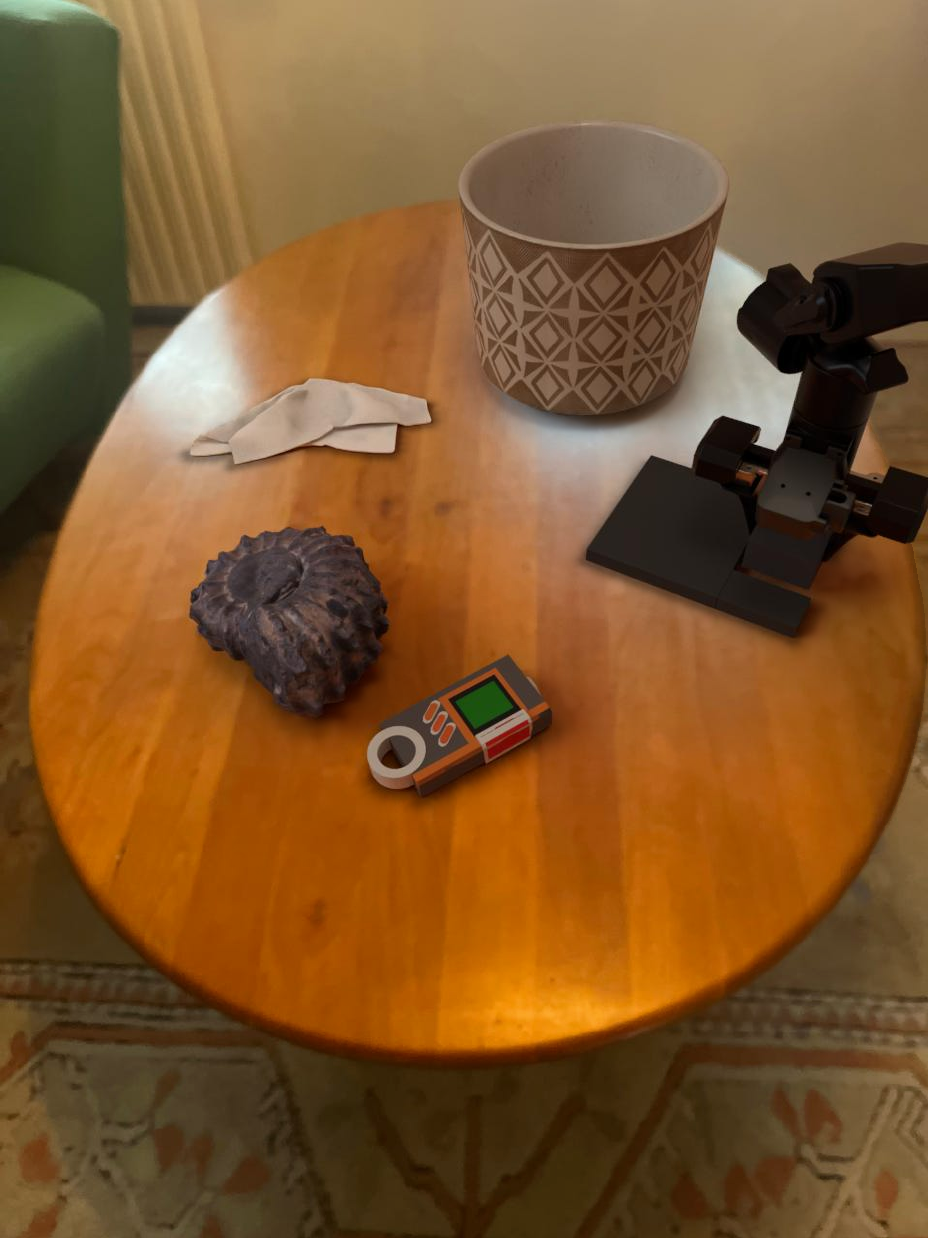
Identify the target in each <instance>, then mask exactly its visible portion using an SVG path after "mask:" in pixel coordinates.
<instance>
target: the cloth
mask: <svg viewBox="0 0 928 1238" xmlns="http://www.w3.org/2000/svg"><path fill="white" fill-rule="evenodd" d="M427 402H428V401H427V399H425V398H421V397H417V396H413V395H410V394H406V393H400V392H394V391H391V390H388V389H384V388H382V387H374V386H373V387H372V386H367V385H363V384H360V383H356V382H342V381H338V380H333V379H326V378H311V377H310V378H308V380H306V381H305V382H304V383H303V384H296V385H291V386H289V387H288V388H286V389H284V390H282V391H281V392H279V393H277V394H276V395H274V396H272V397H271V398H269V399H267V400H265V401H263V402H261V403H259V404H257V405H255V406H253V407H251V408H249V409H247V410H246V411H244V412H242V413H241V414H240V415H238V416H237V417H236V418H234V419H233V420H232V421H230V422H229V423H228V424H227V425H223V426H220V427H216V428H214V429H212V430H210V431H208V432H206V433H204V434H198V436H197V437H195V438H194V439H193V440H192V443H191V448H190V450H189V454H190V456H191V457H207V456H215V455H222V454H232V459H233V463H234V466H237V465H241V464H246V463H249V462H254V461H257V460H262V459H267V458H270V457H274V456H276V455H279V454H282V453H285V452H287V451H290V450H293V449H296V448H299V447H311V446H317V447H323V446H327V447H331V448H334V449H336V450H342V451H348V452H359V453H369V454H393V453H394V452H395V450H396V441H397V432H398V426H399V425H401V426H403V427H411V426H418V425H427V424H431V422H432V418H431V414H430V412H429V410H428V405H427V404H428V403H427Z"/></svg>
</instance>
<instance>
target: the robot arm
mask: <svg viewBox="0 0 928 1238" xmlns="http://www.w3.org/2000/svg"><path fill="white" fill-rule="evenodd" d="M812 275H813V277H812V279H811V282H810V281H809V280H808V279H807V278H805V277H804V275H803V273H801V271H800V270H799V269H798V268H797V267H796V266H795V265H794V264H792V263H791V262H789V263H785V264H781V265H777V266H772V267H770V268H768V269H767V274H766V278H765V280H764V281H763V282H761V283H760V284H759V285H758V286H757V287H755V288H754V289H753V290H752V291H751V292H750V294H749V295H748V296H747V298H745V300H744V302H743V304H742V306H740V307H739V308H738V311H737V315H736V326H737V330H738V332H739V333H740V334H741V336H743V337H744V338H745V340H747V341H748V343H750V344H751V345H752V346H753V347H754V348H755V349H756V351H758V352H759V354H761V355H762V356H763V357H764V359H766V360H767V361H768V363H770V364H771V365H772V366H773V368H775V369H776V370H777V371H779V373H782V374H784V375H797V374H800V373H801V374H800V377H799V381H798V385H797V389H796V391H795V392H796V393H795V396H794V399H793V403H792V406H791V407H792V408H791V411H790V415H789V418H788V422H787V426H786V429H785V433H784V437H783V439H782V441H781V443H780V444H779V445H778V447H777V448H776V449H772V448H769V447H765V446H763V445H759V444H756V443H757V442H758V441H759V439H760V436H761V431H762V427H761V426H758V425H756V424H752V423H749V422H746V421H743V420H739V419H737V418H733V417H730V416H726V415H720V416H719V417H717V418H715V419H714V420H713V421H712V423H711V424H710V426H709V428H708V429H707V431H706V432H705V434H704V435H703V436H702V439H701V440H700V442H698V444H697V446H696V449H695V451H694V455H693V458H692V459H693V460H692V465H691V468H692V471H693V473H694V474H695V475H696V476H699V477H702V478H705V479H708V480H711V481H714V482H717V483H720V484H721V487H722V488H723V489H724V490H727V491H730V492H732V493H734V494H737V495H738V496H739V499H740V501H741V503H742V506H743V509H744V513H745V517H746V521H747V526H748V530H749V534H750V536H751V534H752V532H753V530H754V528H755V527H756V525H757V524H758V525H759V526H761V527H763V528H766V529H772V530H775V531H778V532H781V533H784V534H787V535H790V536H792V537H793V538H795V539H798V540H808V539H810V538H812V537H813V536H814V534H815V533H817V534H820V535H823V536H827V534H828V532H829V531H834V533H833V535H832V537H831V539H830V541H829V543H828V545H827V547H826V550H825V552H824V555H823V558H822V563H827V562H828V561H829V560H830V559H831V558H832V557H833V556H835V554H837V552H839V551H840V550H841V549H842V548H843V547H844V546H845V545H846V544H847V543H848V542H850V541H851V540H853V539H854V538H856V537H857V536H863V537H866V538H870V539H874V538H876V537H878V536H879V537H882V538H885V539H887V540H890V541H894V542H896V543H899V544H903V545H907V544H911V543H914V541H915V540H916V537H917V535H918V533H919V531H920V529H921V526H922V524H923V522H924V520H925V517H926V515H927V512H928V476H925V475H921V474H918V473H915V472H911V471H909V470H905V469H902V468H898V467H895V466H892V465H889V467H888V469H887V471H886V473H885V474H882V473H878V472H869V473H868V474H864V473H860V472H856V471H853V470H852V468H853V465H854V462H855V459H856V455H857V454H858V451H859V447H860V445H861V441H862V439H863V436H864V433H865V431H866V428H867V424H868V421H869V419H870V416H871V413H872V410H873V408H874V405H875V402H876V399H877V396H878V393H880V392H882V391H885V390H889V389H893V388H896V387H899V386H903V385H906V384H907V383H908V382H909V374H908V372H907V369H906V366H905V365H904V364H903V363H902V362H901V361H900V359H899V357H898V354H897V349H896V348H895V347H889V348H886V347H885V346H884V345H882V344H881V343H880V342H879V341H878V340H876V339H875V338H874V337H873V336H876V335H880V334H884V333H888V332H891V331H894V330H897V329H901V328H904V327H908V326H911V325H915V324H918V323H926V322H928V244H926V243H915V242H902V241H901V242H899V241H898V242H894V243H891V244H886V245H883V246H879V247H876V248H872V249H868V250H864V251H859V252H856V253H853V254H849V255H845V256H841V257H838V258H833V259H830V260H826V261H824V262H821V263H819V264H818V265H817V266H816V267H815V268H814V270H813V271H812Z"/></svg>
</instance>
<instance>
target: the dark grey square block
mask: <svg viewBox="0 0 928 1238" xmlns="http://www.w3.org/2000/svg"><path fill="white" fill-rule="evenodd" d="M833 533H834V531H829V532H828V534H827V536H823V535H820V534H817V533H815V534H814V536H813V537H812V538H810V539H808V540H798V539H795V538H793V537H792V536H790V535H787V534H784V533H781V532H778V531H775V530H772V529H766V528H763V527H761V526H759V525H758V524H757V525H756V527H755V528H754V530H753V532H752V534H751V536H750V537H749V539H748V543H747V547H746V551H745V554H744V556H743V558H742V563H741V567H742V568H745V569H747V570H750V571H752V572H756V573H759V574H762V575H764V576H767V577H771V578H773V579H776V580H779V581H780V582H781V581H782V582H784V583H787V584H790V585H793V586H795V587H799V588H801V589H804V590H806V591H810V590H811V587H812V585H813V584H814V581H815V580H816V576H817V574H818V573H819V570H820V568H821V566H822V564H823V562H822V558H823V555H824V552H825V550H826V547H827V545H828V543H829V541H830V539H831V537H832V535H833Z"/></svg>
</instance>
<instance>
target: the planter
mask: <svg viewBox="0 0 928 1238" xmlns="http://www.w3.org/2000/svg"><path fill="white" fill-rule="evenodd" d="M729 191H730V177H729V173H728V171H727V169H726V167H725V164H724V163H723V162H722V161H721V159H720V158H719V157H718V156H717V155H716V154H715V153H714V152H713V151H711V150H710V149H709V148H707V147H706V146H704V145H703V144H702V143H700V142H698V141H696V140H694V139H693V138H691V137H688V136H686V135H683V134H681V133H679V132H676V131H673V130H671V129H670V130H669V129H667V128H663V127H660V126H655V125H651V124H646V123H641V122H640V123H639V122H634V121H628V120H615V119H575V120H564V121H556V122H551V123H545V124H540V125H535V126H532V127H531V126H530V127H527V128H524V129H521V130H517V131H515V132H512V133H509V134H506V135H503V136H502V137H500V138H498V139H496V140H494V141H492V142H490V143H488V144H487V145H485V146H484V147H482V148H481V149H480V150H478V151H477V152H475V154H474V155H473V156H471V157H470V159H469V160H467V162H466V164H465V165H464V166H463V168H462V170H461V172H460V175H459V177H458V196H459V203H460V204H459V205H460V212H461V220H462V221H461V222H462V228H463V229H462V230H463V239H464V245H465V255H466V263H467V273H468V280H469V289H470V290H469V291H470V297H471V298H470V299H471V307H472V314H473V323H474V333H475V341H476V342H475V343H476V350H477V357H478V361H479V363H480V367H481V369H482V370H483V372H484V374H485V375H486V377H487V378H488V379H489V380H490V382H492V384H494V386H495V387H497V389H498V390H500V391H501V392H503V393H504V394H506V395H507V396H509V397H511V398H512V399H513V400H515V401H517V402H519V403H522V404H524V405H527V406H529V407H532V408H534V409H539V410H542V411H546V412H549V413H550V412H551V413H556V414H564V415H573V416H597V415H605V414H606V415H608V414H613V413H619V412H624V411H627V410H630V409H634V408H636V407H640V406H642V405H645V404H647V403H649V402H651V401H653V400H655V399H657V398H658V397H660V396H661V395H663V394H664V393H666V392H667V391H668V390H670V389H671V388H672V387H673V386H674V385H675V384H676V383H677V382H678V381H679V380H680V378H681V377H682V375H683V373H684V372H685V370H686V368H687V365H688V363H689V360H690V356H691V352H692V348H693V344H694V339H695V335H696V331H697V328H698V327H697V325H698V322H699V319H700V314H701V309H702V305H703V301H704V297H705V293H706V289H707V285H708V280H709V275H710V272H711V268H712V262H713V259H714V254H715V250H716V246H717V242H718V238H719V234H720V229H721V225H722V220H723V217H724V213H725V208H726V205H727V204H726V203H727V201H728V200H727V199H728V195H729Z"/></svg>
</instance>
